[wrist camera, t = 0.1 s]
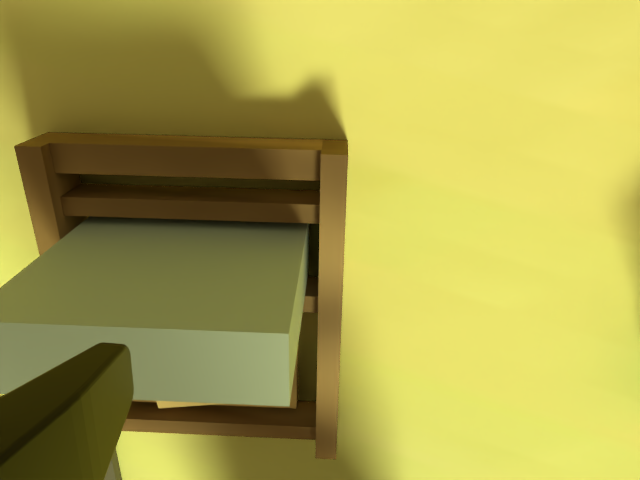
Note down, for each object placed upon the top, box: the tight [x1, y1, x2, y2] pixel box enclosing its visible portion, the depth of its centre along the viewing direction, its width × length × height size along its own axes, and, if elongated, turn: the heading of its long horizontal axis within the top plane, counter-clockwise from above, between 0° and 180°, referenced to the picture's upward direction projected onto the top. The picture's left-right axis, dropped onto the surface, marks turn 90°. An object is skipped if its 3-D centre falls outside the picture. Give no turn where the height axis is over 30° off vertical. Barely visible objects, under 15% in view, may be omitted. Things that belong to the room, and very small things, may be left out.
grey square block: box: [0, 216, 309, 407], centre depth 19 cm, size 3×9×9 cm, turn 89°
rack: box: [14, 132, 348, 459], centre depth 23 cm, size 15×12×2 cm
